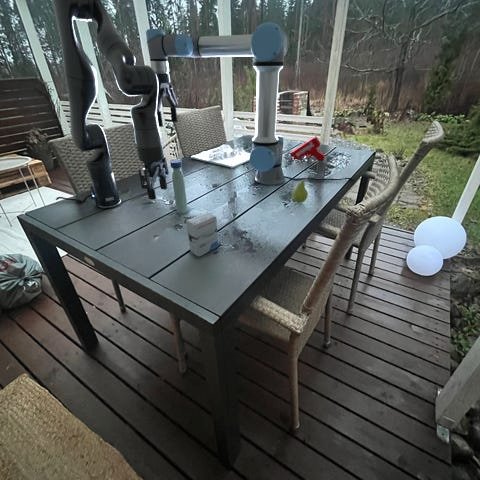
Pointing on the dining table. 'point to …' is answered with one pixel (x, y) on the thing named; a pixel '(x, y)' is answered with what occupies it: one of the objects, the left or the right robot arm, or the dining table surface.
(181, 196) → the bottle
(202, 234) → the ink box
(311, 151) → the toy gun
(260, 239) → the dining table surface
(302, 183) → the fruit
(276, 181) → the right robot arm
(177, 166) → the cap
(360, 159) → the dining table surface
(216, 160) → the relief map
